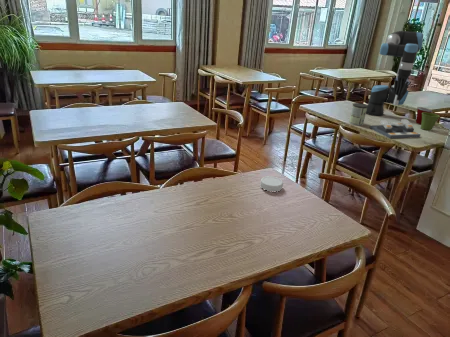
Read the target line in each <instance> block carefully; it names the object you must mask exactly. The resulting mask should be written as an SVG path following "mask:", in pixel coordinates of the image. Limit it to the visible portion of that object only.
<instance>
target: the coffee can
mask: <svg viewBox="0 0 450 337" xmlns="http://www.w3.org/2000/svg"><path fill="white" fill-rule="evenodd" d="M367 105H368V104H365V103H360V102H359V103H357V102H353V103H352V108H351V112H350V117H349V121H348V123H349V124H351V125H353V126H364V123H365V117H366V115H367V114H366V110H367V107H368V106H367Z"/></svg>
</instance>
